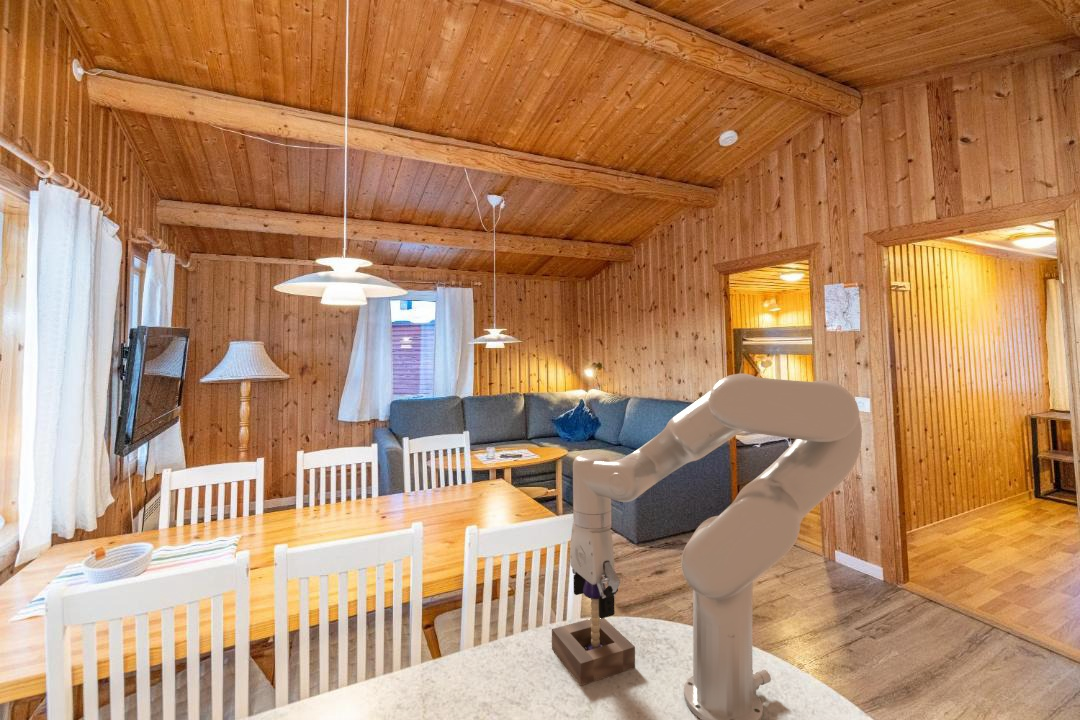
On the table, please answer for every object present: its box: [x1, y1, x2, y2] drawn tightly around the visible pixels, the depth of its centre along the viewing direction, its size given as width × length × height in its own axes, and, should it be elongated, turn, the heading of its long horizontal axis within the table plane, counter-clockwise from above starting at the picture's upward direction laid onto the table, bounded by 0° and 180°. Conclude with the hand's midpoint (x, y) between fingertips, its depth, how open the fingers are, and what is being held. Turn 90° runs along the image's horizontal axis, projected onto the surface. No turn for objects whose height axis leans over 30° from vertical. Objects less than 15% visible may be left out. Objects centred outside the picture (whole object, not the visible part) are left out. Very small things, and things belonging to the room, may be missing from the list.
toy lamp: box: [582, 576, 607, 651], centre depth 92 cm, size 5×5×17 cm
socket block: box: [551, 618, 636, 686], centre depth 92 cm, size 12×12×4 cm
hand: (593, 604), depth 92 cm, fingers open, 9 cm apart
